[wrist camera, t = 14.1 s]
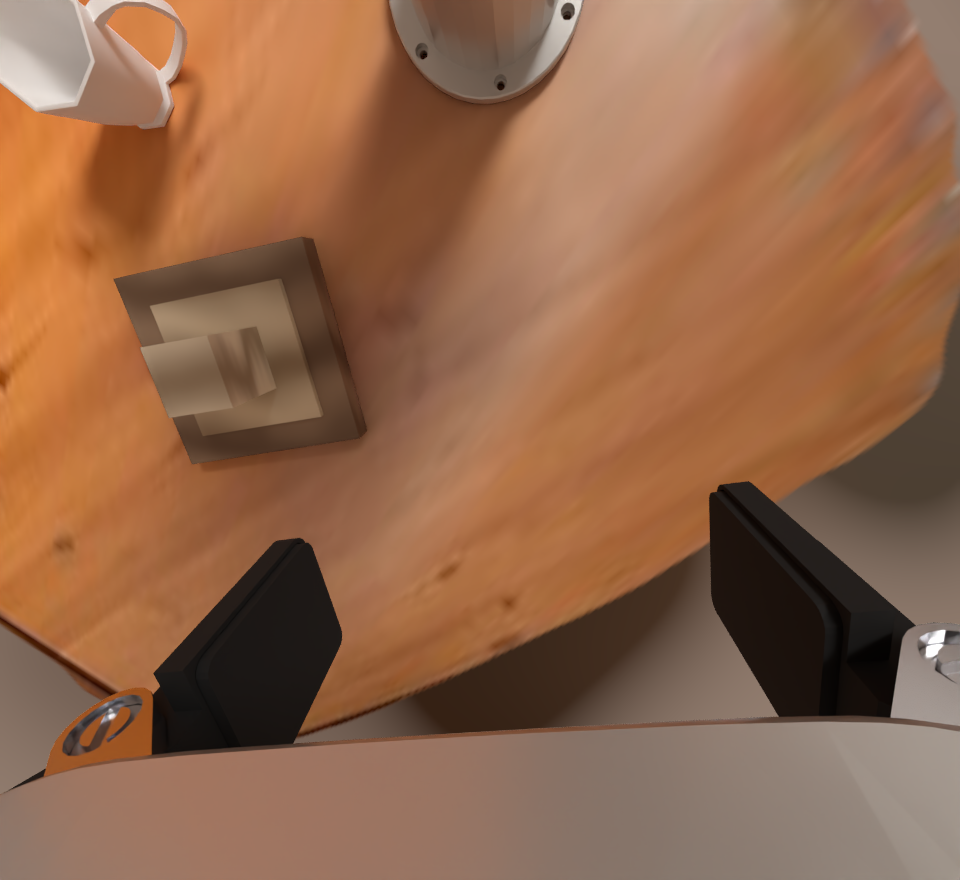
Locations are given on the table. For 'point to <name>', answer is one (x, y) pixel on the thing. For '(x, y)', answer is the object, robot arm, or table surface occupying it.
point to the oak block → (209, 371)
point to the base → (284, 335)
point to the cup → (85, 62)
